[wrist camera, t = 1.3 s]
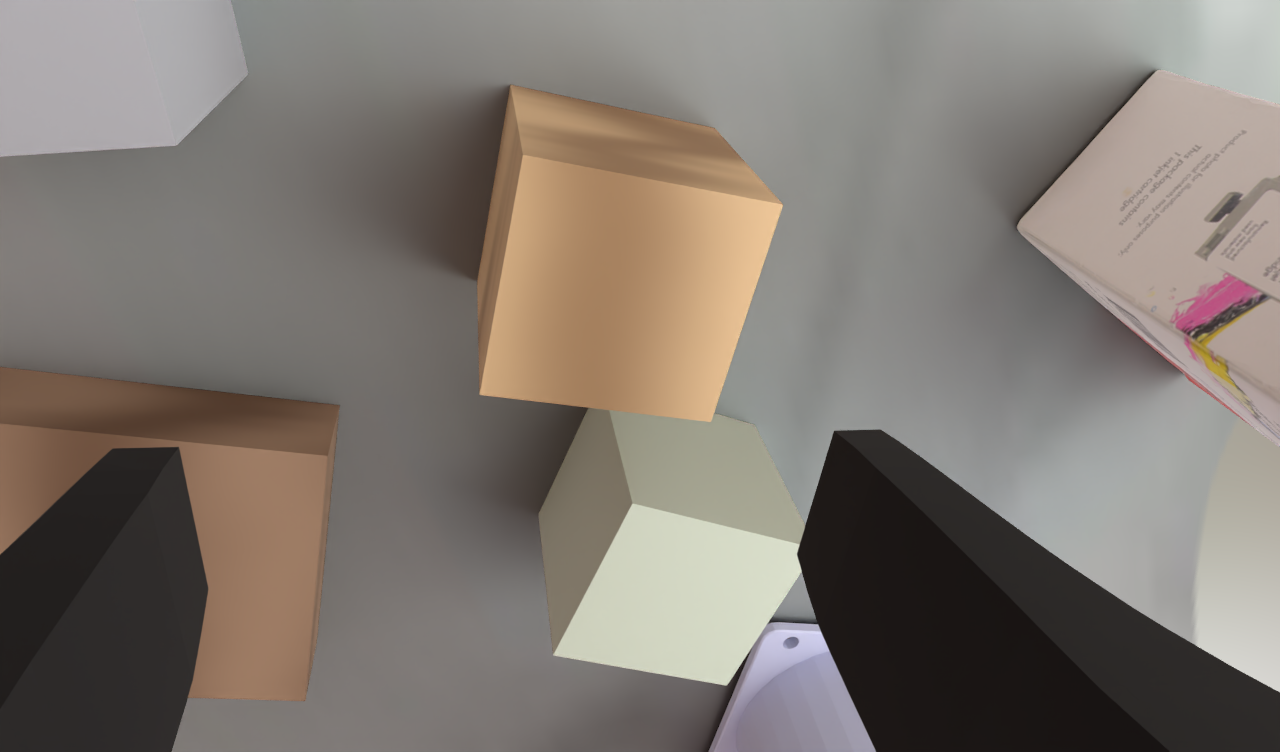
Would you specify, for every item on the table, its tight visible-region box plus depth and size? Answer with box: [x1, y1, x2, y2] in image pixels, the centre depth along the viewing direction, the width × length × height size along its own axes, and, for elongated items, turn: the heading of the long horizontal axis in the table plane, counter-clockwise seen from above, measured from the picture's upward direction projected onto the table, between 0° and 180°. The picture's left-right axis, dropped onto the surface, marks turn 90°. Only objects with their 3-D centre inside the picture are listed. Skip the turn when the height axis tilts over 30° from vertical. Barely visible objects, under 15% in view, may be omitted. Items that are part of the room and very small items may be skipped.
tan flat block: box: [0, 367, 340, 701], centre depth 21 cm, size 8×8×2 cm
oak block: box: [477, 85, 783, 422], centre depth 18 cm, size 4×4×5 cm
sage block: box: [538, 408, 805, 686], centre depth 22 cm, size 4×4×5 cm
